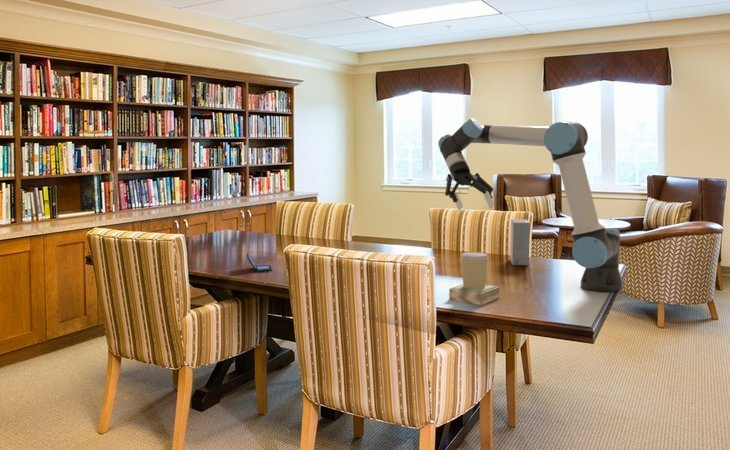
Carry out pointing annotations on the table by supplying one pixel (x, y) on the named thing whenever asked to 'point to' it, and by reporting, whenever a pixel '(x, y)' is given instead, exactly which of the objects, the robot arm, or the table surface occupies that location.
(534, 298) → the table surface
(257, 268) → the handheld game console
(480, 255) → the coffee cup
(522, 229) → the hard drive box
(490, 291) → the birch riser
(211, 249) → the table surface
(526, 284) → the table surface
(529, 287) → the table surface
